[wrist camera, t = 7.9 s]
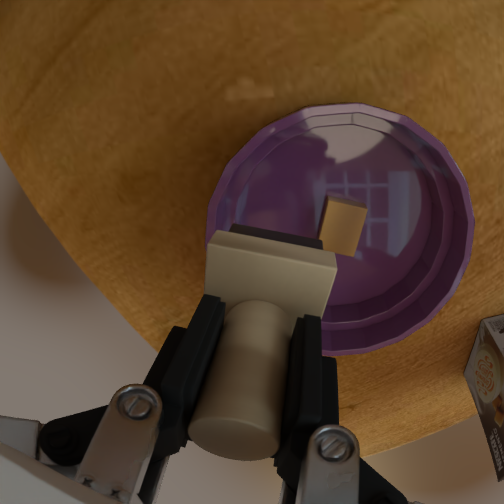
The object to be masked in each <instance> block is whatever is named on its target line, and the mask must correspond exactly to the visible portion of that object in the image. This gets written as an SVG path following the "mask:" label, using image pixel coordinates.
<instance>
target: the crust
mask: <svg viewBox="0 0 504 504" xmlns="http://www.w3.org/2000/svg"><path fill="white" fill-rule="evenodd" d="M367 211H368V208H367V207H366V205H365V204H364V203H359V202H355V201H351V200H346V199H342V198H337V197H332V196H327V199H326V203H325V207H324V212H323V216H322V220H321V224H320V228H319V232H318V236H317V239H319V240H322V241H323V250H325V251H330V252H334V253H336V254H341V255H346V256H351V257H354V254H355V251H356V248H357V245H358V241H359V238H360V235H361V231H362V228H363V225H364V221H365V218H366V214H367Z"/></svg>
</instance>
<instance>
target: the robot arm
mask: <svg viewBox="0 0 504 504" xmlns="http://www.w3.org/2000/svg"><path fill="white" fill-rule="evenodd" d="M225 307H226V303H225V302H221V298H220V297H218V296H213V295H208V294H204V295H203V297H202V299H201V301H200V303H199V305H198V307H197V309H196V311H195V313H194V315H193V317H192V319H191V321H190V323H189V325H188V328H187V329H186V328H182V327H178V326H174V327H173V328H172V329H171V331H170V333H169V335H168V337H167V338H166V340H165V342H164V344H163V346H162V348H161V350H160V352H159V354H158V356H157V357H156V359H155V361H154V363H153V365H152V367H151V369H150V371H149V373H148V375H147V376H146V379H145V380H144V382H143V384H129V385H126V386H123V387H122V388H120V389H119V390H118V391H116V393H115V394H114V396H113V397H112V399H111V401H110V403H109V405H106V406H102V407H99V408H95V409H92V410H88V411H85V412H81V413H77V414H74V415H70V416H66V417H62V418H58V419H54V420H52V421H50V422H48V423H47V424H41V423H40V422H39V421H37V420H29V419H21V418H13V417H7V416H1V415H0V504H155V503H156V500H157V497H158V493H159V490H160V487H161V483H162V480H163V477H164V473H165V470H166V467H167V464H168V460H169V457H170V455H172V454H175V453H177V452H179V450H180V447H185V446H186V444H187V441H188V440H190V441H192V439H191V438H190V437H189V434H188V425H189V422H190V419H191V417H192V414H193V411H194V408H195V405H196V403H197V400H198V397H199V394H200V391H201V388H202V385H203V383H204V380H205V377H206V374H207V371H208V368H209V366H210V363H211V360H212V357H213V354H214V351H215V349H216V346H217V343H218V340H219V337H220V334H221V331H222V329H223V326H224V316H225ZM270 458H275V459H274V466H275V467H277V474H278V475H279V476H280V477H281V478H282V479H283V483H282V489H281V493H280V499H279V504H423V503H420V502H417V501H415V502H413V503H412V502H409V501H407V499H406V497H405V496H404V495H403V494H402V493H401V492H400V491H398V490H397V489H396V488H395V487H394V486H393V485H391V484H390V483H389V482H388V481H387V480H386V479H384V478H383V477H382V476H381V475H380V474H379V473H377V472H376V471H375V470H374V469H373V468H372V467H371V466H370V465H368V464H367V463H366V462H365V461H364V460H363V459H362V458H361V457H360V447H359V442H358V440H357V438H356V436H355V435H354V434H353V433H352V432H351V431H350V430H349V429H347V428H345V427H343V426H339V405H338V380H337V363H336V359H335V358H332V357H326V356H322V330H321V317H320V316H314V315H308V314H304V316H303V318H301V317H297V320H296V324H295V327H294V330H293V334H292V337H291V344H290V355H289V365H288V375H287V385H286V394H285V403H284V412H283V420H282V429H281V442H280V447H279V450H278V451H277V452H276V453H275V454H274V455H273V456H271V457H270Z"/></svg>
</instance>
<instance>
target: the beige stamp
mask: <svg viewBox="0 0 504 504" xmlns="http://www.w3.org/2000/svg"><path fill="white" fill-rule="evenodd" d="M336 273H337V264H336V258H335V253H334V252H330V251H325V250H323V241H322V240H319V239H314V238H309V237H303V236H298V235H293V234H288V233H283V232H278V231H273V230H267V229H262V228H257V227H252V226H246V225H241V224H235V223H233V224H232V226H231V227H230V229H229V231H228V232H226V231H221V230H216V232H215V233H214V235H213V236H212V238H211V239H210V241H209V242H208V244H207V254H206V268H205V282H204V294H208V295H213V296H218V297H220V298H221V302H225V303H226V307H225V316H224V326H223V329H222V331H221V334H220V337H219V340H218V343H217V346H216V349H215V351H214V354H213V357H212V360H211V363H210V366H209V368H208V371H207V374H206V377H205V380H204V383H203V385H202V388H201V391H200V394H199V397H198V400H197V403H196V405H195V408H194V411H193V414H192V417H191V419H190V422H189V425H188V434H189V437H190V438H191V439H192V441H193V442H194V443H195V444H197V445H198V446H199V447H201V448H202V449H204V450H206V451H208V452H210V453H212V454H215V455H218V456H221V457H224V458H228V459H234V460H243V461H253V460H261V459H265V458H268V457H271V456H273V455H274V454H275V453H276V452H277V451H278V450H279V447H280V442H281V429H282V420H283V412H284V403H285V394H286V385H287V375H288V365H289V355H290V344H291V337H292V334H293V330H294V327H295V324H296V320H297V317H301V318H303V316H304V314H308V315H314V316H320V317H321V319H322V316H323V313H324V310H325V307H326V304H327V301H328V298H329V295H330V292H331V289H332V286H333V283H334V279H335V276H336Z"/></svg>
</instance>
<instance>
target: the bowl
mask: <svg viewBox="0 0 504 504" xmlns="http://www.w3.org/2000/svg"><path fill="white" fill-rule="evenodd" d="M327 196H332V197H337V198H342V199H346V200H351V201H355V202H359V203H364V204H365V205H366V207H367V208H368V211H367V214H366V218H365V221H364V225H363V228H362V231H361V235H360V238H359V241H358V245H357V248H356V251H355V254H354V257H351V256H346V255H341V254H336V253H335V258H336V264H337V273H336V276H335V279H334V283H333V286H332V289H331V292H330V295H329V298H328V301H327V304H326V307H325V310H324V313H323V316H322V319H321V330H322V355H325V356H341V355H352V354H362V353H368V352H371V351H374V350H377V349H380V348H383V347H385V346H388V345H391V344H394V343H397V342H399V341H401V340H403V339H404V338H406V337H408V336H409V335H411V334H412V333H414V332H415V331H417V330H418V329H420V328H421V327H423V326H424V325H426V324H427V323H428V322H430V321H431V320H432V319H433V317H434V316H435V315H436V314H437V313H438V312H439V311H440V310H441V308H442V307H443V306H444V305H445V304H446V303H447V302H448V300H449V299H450V298H451V297H452V296H453V294H454V293H455V291H456V289H457V287H458V285H459V283H460V281H461V279H462V276H463V274H464V272H465V270H466V268H467V265H468V263H469V261H470V256H471V250H472V242H473V235H474V226H475V219H474V213H473V208H472V203H471V198H470V194H469V189H468V185H467V182H466V179H465V177H464V176H463V174H462V172H461V171H460V169H459V167H458V166H457V164H456V162H455V161H454V159H453V158H452V156H451V155H450V153H449V151H448V150H447V148H446V147H445V145H443V143H442V142H440V141H439V140H438V139H437V138H435V137H434V136H433V135H431V134H430V133H429V132H428V131H426V130H425V129H424V128H422V127H421V126H420V125H418V124H417V123H416V122H414V121H413V120H412V119H410V118H409V117H407V116H405V115H401V114H398V113H395V112H392V111H388V110H385V109H382V108H378V107H374V106H371V105H367V104H363V103H357V102H340V103H328V104H317V105H308V106H304V107H302V108H300V109H298V110H296V111H293V112H291V113H289V114H287V115H285V116H283V117H281V118H278V119H276V120H274V121H272V122H270V123H269V124H267V125H266V126H265V127H263V128H262V129H261V130H259V131H258V132H257V133H256V134H255V135H254V136H253V137H252V138H251V139H250V140H249V141H248V142H247V143H246V144H245V145H244V146H243V147H242V148H241V149H240V150H239V151H238V152H237V153H236V155H235V156H234V157H233V158H232V159H231V160H230V161H229V162H228V163H227V164H226V166H225V169H224V171H223V173H222V175H221V177H220V179H219V181H218V184H217V186H216V188H215V190H214V192H213V195H212V197H211V199H210V201H209V205H208V211H207V223H206V236H205V249H206V253H207V244H208V242H209V241H210V239H211V238H212V236H213V235H214V233H215V232H216V230H221V231H226V232H228V231H229V229H230V227H231V226H232V224H233V223H235V224H241V225H246V226H252V227H257V228H262V229H267V230H273V231H278V232H283V233H288V234H293V235H298V236H303V237H309V238H314V239H317V236H318V232H319V228H320V224H321V220H322V216H323V212H324V207H325V203H326V199H327Z"/></svg>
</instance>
